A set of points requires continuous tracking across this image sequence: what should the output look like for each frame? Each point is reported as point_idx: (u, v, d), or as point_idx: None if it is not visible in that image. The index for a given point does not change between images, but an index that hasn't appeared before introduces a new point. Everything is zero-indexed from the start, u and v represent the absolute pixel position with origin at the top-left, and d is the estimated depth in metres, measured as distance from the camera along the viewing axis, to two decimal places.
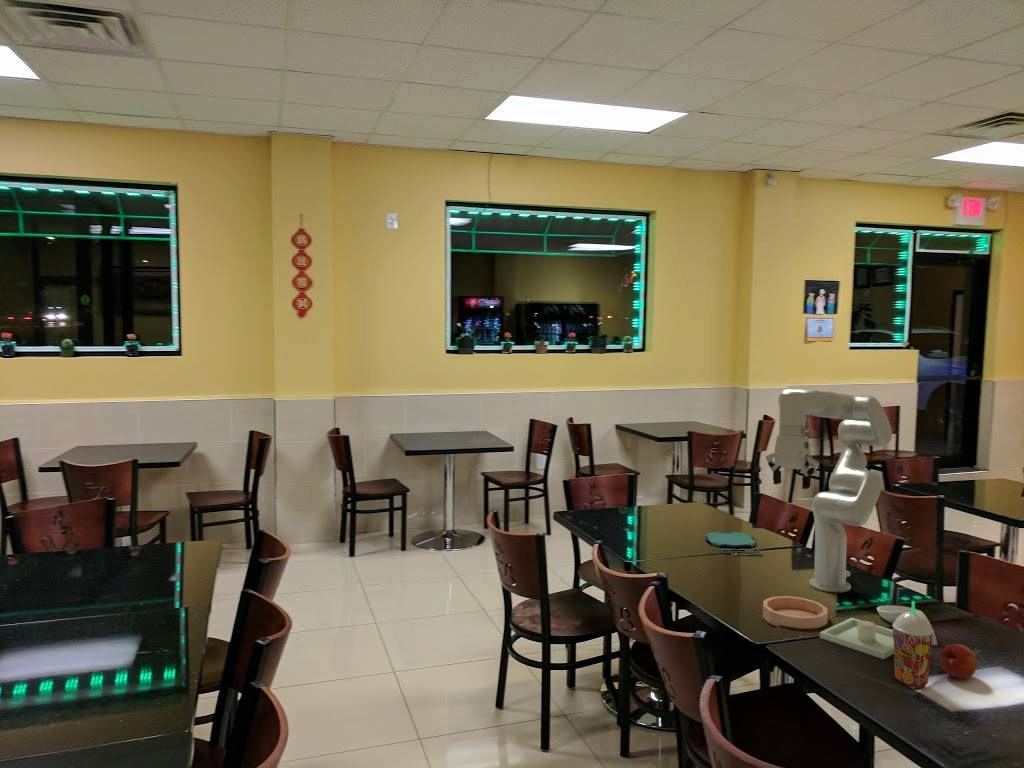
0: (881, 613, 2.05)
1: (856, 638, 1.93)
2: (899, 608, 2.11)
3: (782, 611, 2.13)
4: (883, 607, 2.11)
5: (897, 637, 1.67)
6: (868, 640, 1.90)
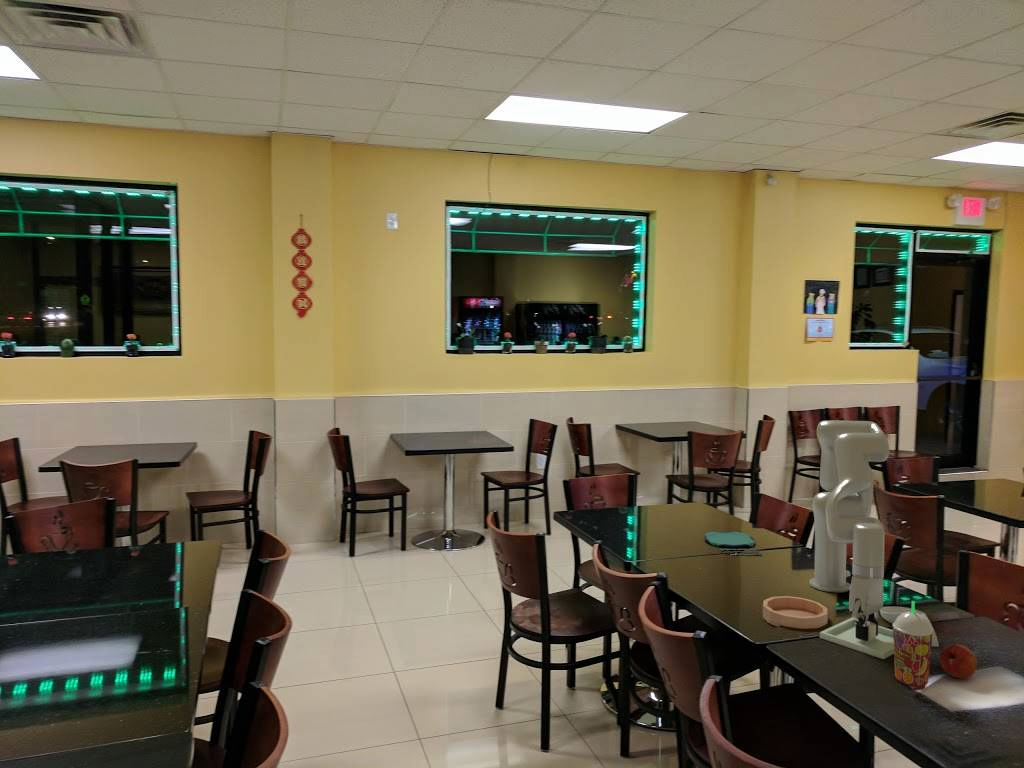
0: (883, 614, 2.05)
1: (856, 638, 1.93)
2: (901, 609, 2.10)
3: (782, 611, 2.13)
4: (885, 608, 2.10)
5: (897, 637, 1.67)
6: (868, 640, 1.90)
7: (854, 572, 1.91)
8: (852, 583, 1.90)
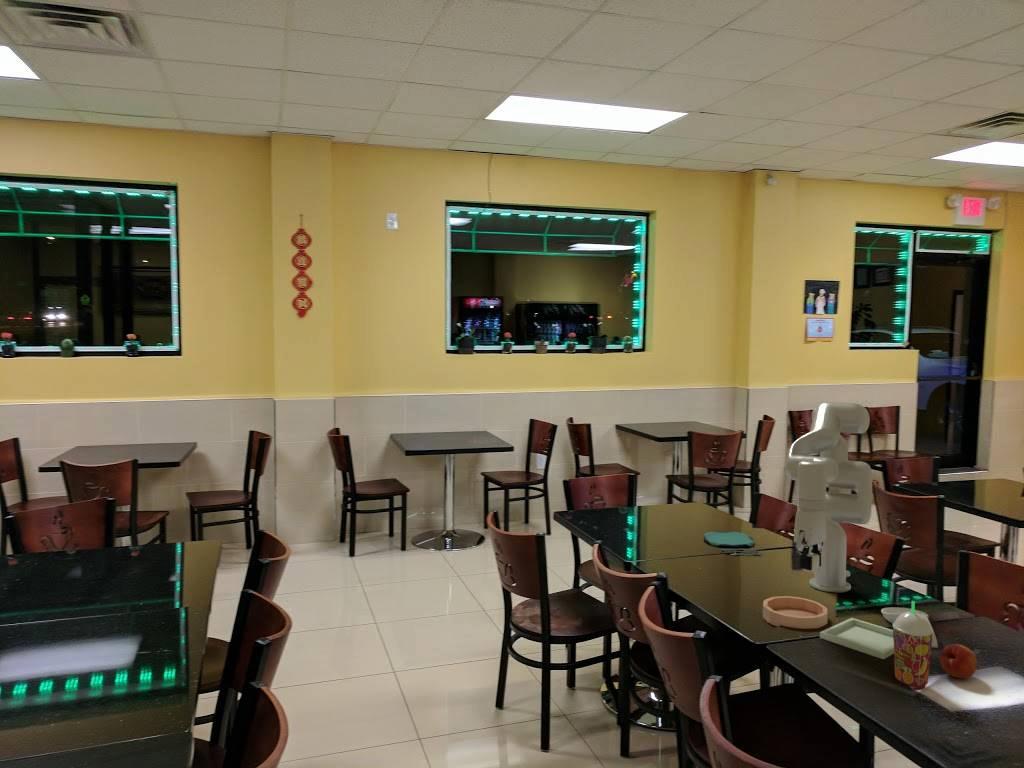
0: (885, 615, 2.04)
1: (856, 638, 1.93)
2: (905, 610, 2.09)
3: (782, 611, 2.13)
4: (888, 609, 2.09)
5: (897, 637, 1.67)
6: (812, 569, 2.02)
7: (799, 506, 2.03)
8: (797, 516, 2.02)
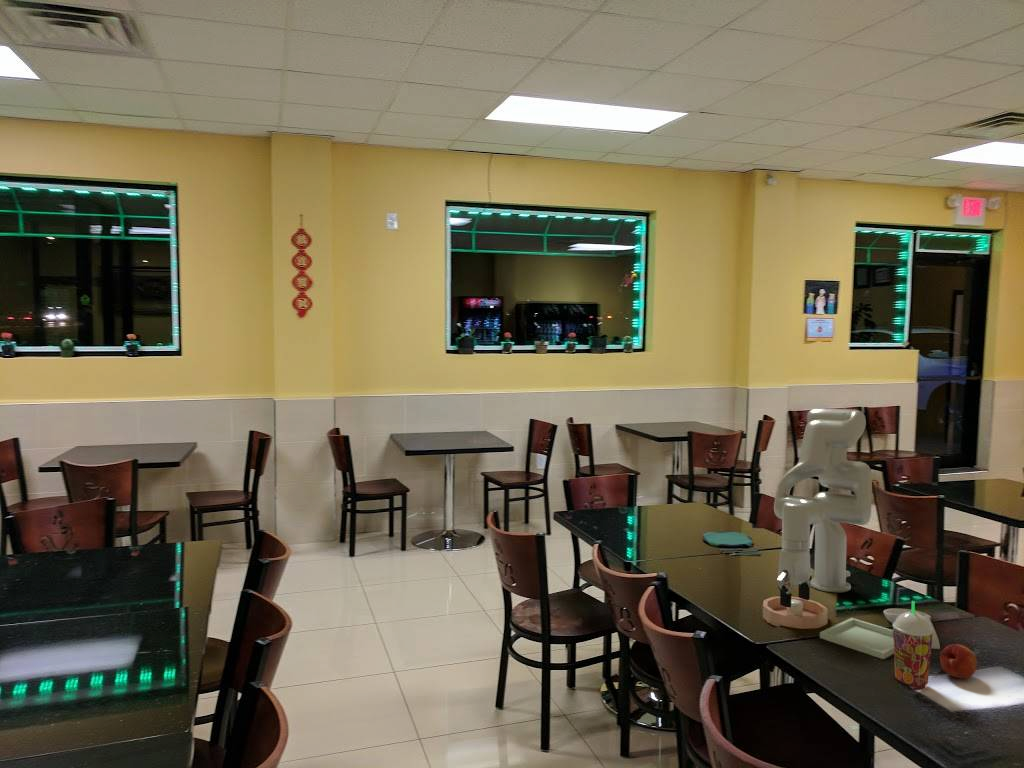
0: (887, 616, 2.03)
1: (856, 638, 1.93)
2: (907, 611, 2.08)
3: (782, 611, 2.13)
4: (891, 610, 2.09)
5: (897, 637, 1.67)
6: None
7: (783, 546, 2.07)
8: (781, 556, 2.06)
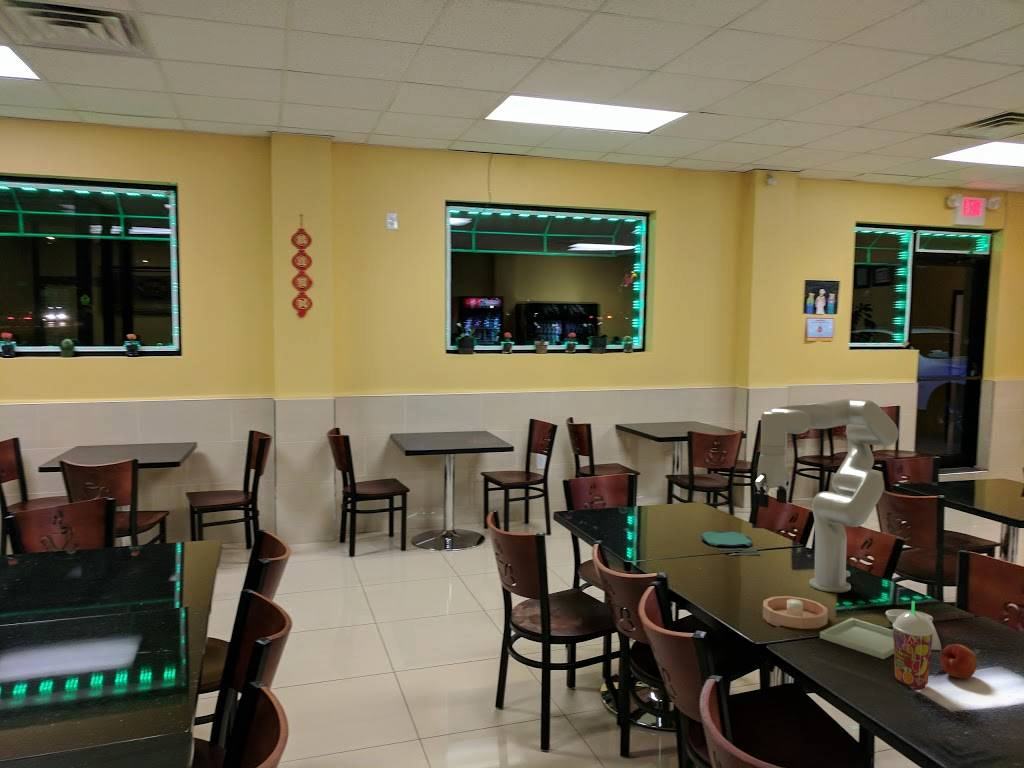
0: (889, 617, 2.03)
1: (856, 638, 1.93)
2: None
3: (782, 611, 2.13)
4: (893, 611, 2.08)
5: (897, 637, 1.67)
6: None
7: (761, 452, 2.23)
8: (759, 461, 2.22)
